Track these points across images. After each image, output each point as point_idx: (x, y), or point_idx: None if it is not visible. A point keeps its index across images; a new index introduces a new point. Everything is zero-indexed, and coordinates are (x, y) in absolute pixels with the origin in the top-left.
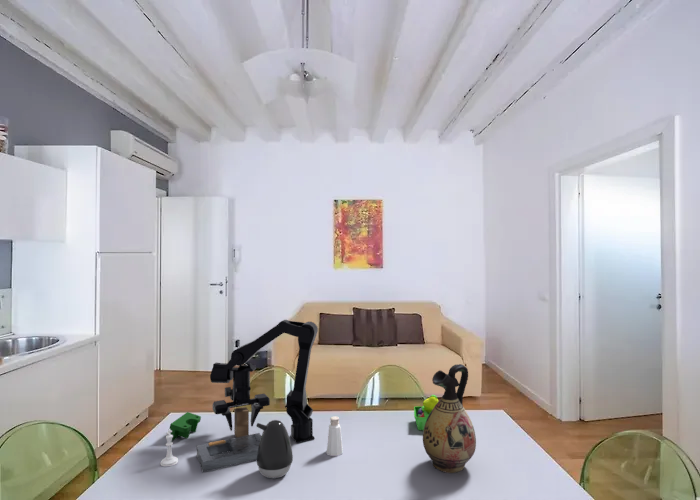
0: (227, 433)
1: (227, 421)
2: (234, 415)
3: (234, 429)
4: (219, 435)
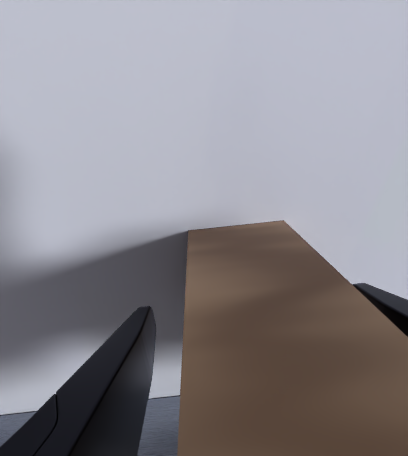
0: (131, 185)
1: (71, 380)
2: (181, 392)
3: (187, 254)
4: (61, 202)
